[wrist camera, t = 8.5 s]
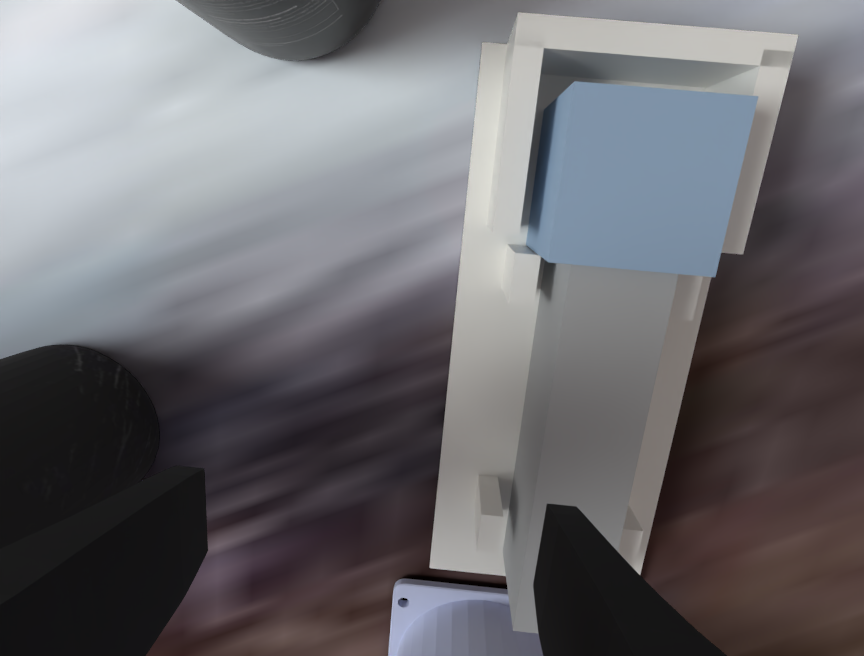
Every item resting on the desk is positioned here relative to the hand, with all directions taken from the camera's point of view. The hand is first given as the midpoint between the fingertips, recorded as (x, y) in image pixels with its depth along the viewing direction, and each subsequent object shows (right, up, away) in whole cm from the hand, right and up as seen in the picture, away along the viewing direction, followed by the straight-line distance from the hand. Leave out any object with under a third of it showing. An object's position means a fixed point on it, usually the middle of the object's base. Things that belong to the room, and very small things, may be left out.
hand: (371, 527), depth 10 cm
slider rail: (+7, +4, +9) cm, 12 cm away
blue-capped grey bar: (+7, +4, +8) cm, 11 cm away
